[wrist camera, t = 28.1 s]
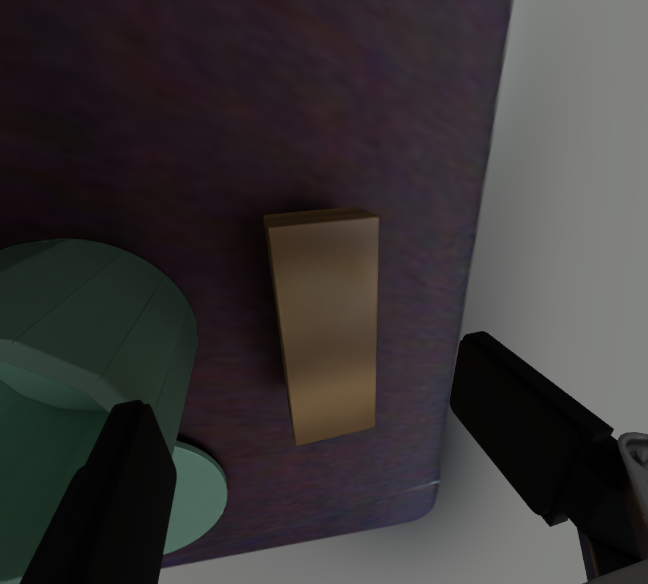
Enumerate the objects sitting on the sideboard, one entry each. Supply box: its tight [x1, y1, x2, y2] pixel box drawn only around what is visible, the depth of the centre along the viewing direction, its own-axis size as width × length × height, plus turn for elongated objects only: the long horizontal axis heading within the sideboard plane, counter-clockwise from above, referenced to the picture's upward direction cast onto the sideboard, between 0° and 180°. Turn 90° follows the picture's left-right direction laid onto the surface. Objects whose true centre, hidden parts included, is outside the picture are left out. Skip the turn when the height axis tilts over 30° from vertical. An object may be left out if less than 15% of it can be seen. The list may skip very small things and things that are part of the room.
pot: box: [0, 238, 199, 584], centre depth 13 cm, size 11×11×8 cm
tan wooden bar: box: [263, 206, 379, 446], centre depth 17 cm, size 12×5×5 cm, turn 3°
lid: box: [163, 440, 228, 555], centre depth 19 cm, size 12×12×6 cm
